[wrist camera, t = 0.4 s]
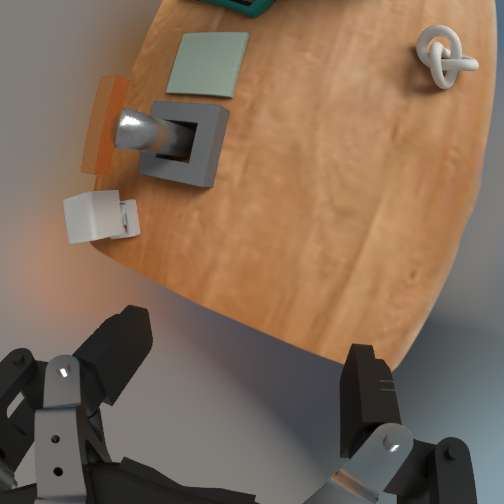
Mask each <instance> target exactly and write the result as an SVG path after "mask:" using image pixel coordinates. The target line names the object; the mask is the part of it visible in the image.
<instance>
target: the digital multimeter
mask: <svg viewBox="0 0 504 504" xmlns="http://www.w3.org/2000/svg"><path fill="white" fill-rule="evenodd" d="M199 1H204V2H209V3H212V4H216V5H220V6H223V7H226V8H229V9H232V10H235V11H238V12H240V13H243V14H245V15H248V16H250V17H252V18H256V17H257V16H259V15H260V14H261V13H263V12H264V11H265V10H266V9H267V8H269V7H270V6H271V5H272V4H273V2H274V1H275V0H229V1H228V0H199ZM238 3H239V4H238Z"/></svg>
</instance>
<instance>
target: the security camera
mask: <svg viewBox="0 0 504 504" xmlns="http://www.w3.org/2000/svg"><path fill="white" fill-rule="evenodd" d="M63 206H64V214H65V222H66V228H67V235H68V241H69V244H75V243H81V242H87V241H94V240H99V239H103V238H107V237H110V238H111V239H118V238H126V237H133V236H138V235H140V227H139V220H138V213H137V206H136V200H135V199H130V200H125V201H121V202H120V199H119V190H105V191H91V192H86V193H83V194H80V195H77V196H74V197H71V198H68V199H65V200H63ZM125 225H126V226H127V233H126V229H125V228H124V227H125Z"/></svg>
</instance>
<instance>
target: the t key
mask: <svg viewBox="0 0 504 504" xmlns="http://www.w3.org/2000/svg"><path fill="white" fill-rule="evenodd" d="M129 82H130V80H127V79H125V78H122V77H120V76H117V75H112V76H104V77H101V80H100V83H99V87H98V90H97V94H96V98H95V102H94V105H93V110H92V114H91V118H90V123H89V127H88V132H87V137H86V142H85V148H84V154H83V160H82V166H81V172H83V173H89V174H94V175H109V174H110V168H111V162H112V156H113V150H114V148H120V149H129V150H137V151H144V152H151V153H158V154H165V155H171V156H178V157H184V158H188V157H190V156H191V152H192V147H193V142H194V138H195V134H196V131H194V130H192V129H189V128H186V127H183V126H181V125H178V124H175V123H172V122H169V121H166V120H163V119H160V118H156V117H153V116H150V115H147V114H144V113H140V112H137V111H134V110H130V109H127V108H123V105H124V101H125V97H126V93H127V90H128V86H129Z"/></svg>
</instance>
